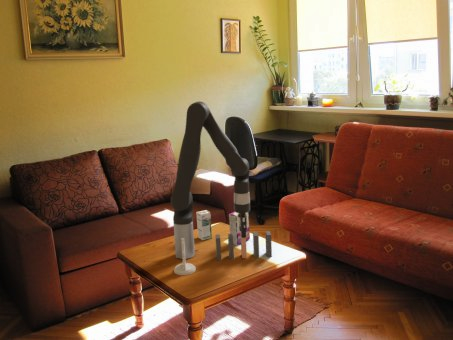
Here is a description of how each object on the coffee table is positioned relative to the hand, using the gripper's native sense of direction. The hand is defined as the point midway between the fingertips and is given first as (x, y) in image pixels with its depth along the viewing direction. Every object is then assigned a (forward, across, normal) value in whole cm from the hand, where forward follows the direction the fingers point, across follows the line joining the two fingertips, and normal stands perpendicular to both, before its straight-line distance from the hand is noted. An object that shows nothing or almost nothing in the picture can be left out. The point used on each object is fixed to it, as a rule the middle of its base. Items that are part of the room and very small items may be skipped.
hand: (242, 234), depth 224 cm
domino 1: (+11, 0, -12) cm, 16 cm away
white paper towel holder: (+12, +11, -28) cm, 32 cm away
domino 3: (+11, 0, 0) cm, 11 cm away
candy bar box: (+12, -19, 0) cm, 22 cm away
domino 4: (+11, 0, +6) cm, 13 cm away
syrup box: (+12, -28, -18) cm, 35 cm away
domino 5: (+11, 0, +12) cm, 17 cm away
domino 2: (+11, 0, -6) cm, 13 cm away
